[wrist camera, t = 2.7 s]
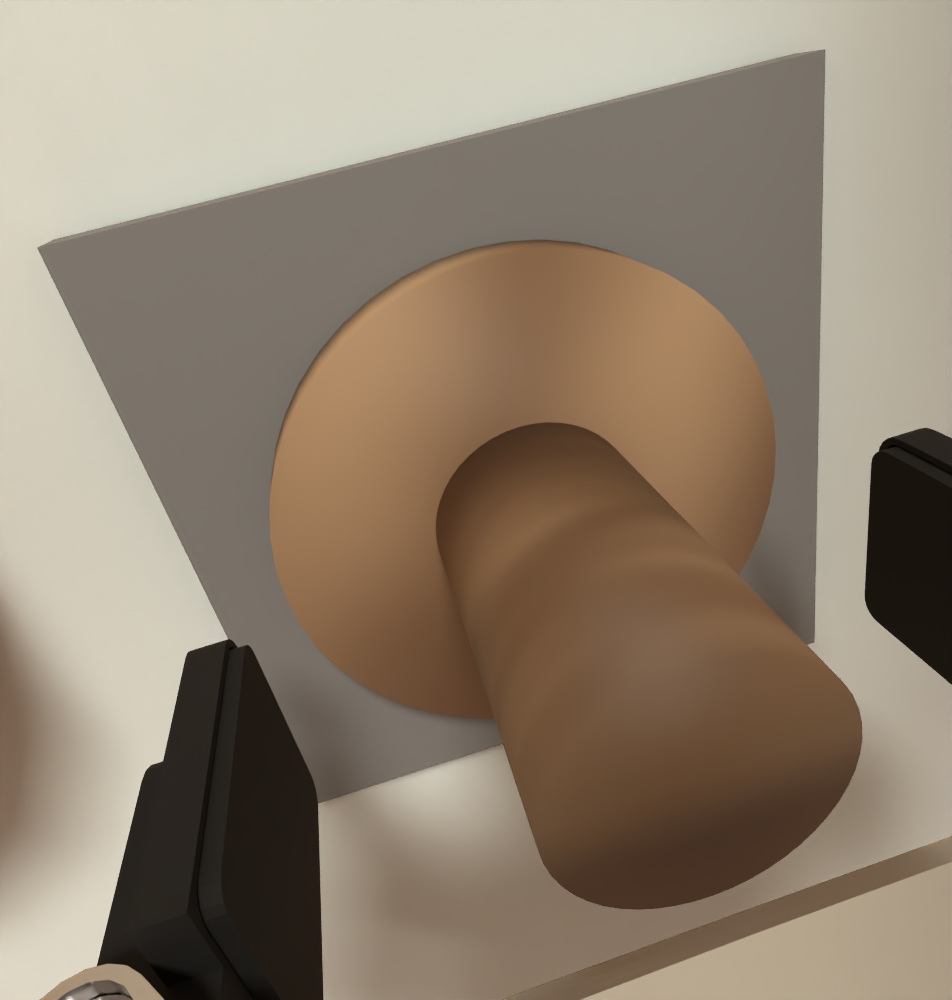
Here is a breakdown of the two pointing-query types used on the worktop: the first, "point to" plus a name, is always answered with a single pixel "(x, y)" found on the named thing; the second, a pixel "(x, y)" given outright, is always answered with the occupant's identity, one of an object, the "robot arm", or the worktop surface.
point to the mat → (404, 249)
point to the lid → (567, 559)
